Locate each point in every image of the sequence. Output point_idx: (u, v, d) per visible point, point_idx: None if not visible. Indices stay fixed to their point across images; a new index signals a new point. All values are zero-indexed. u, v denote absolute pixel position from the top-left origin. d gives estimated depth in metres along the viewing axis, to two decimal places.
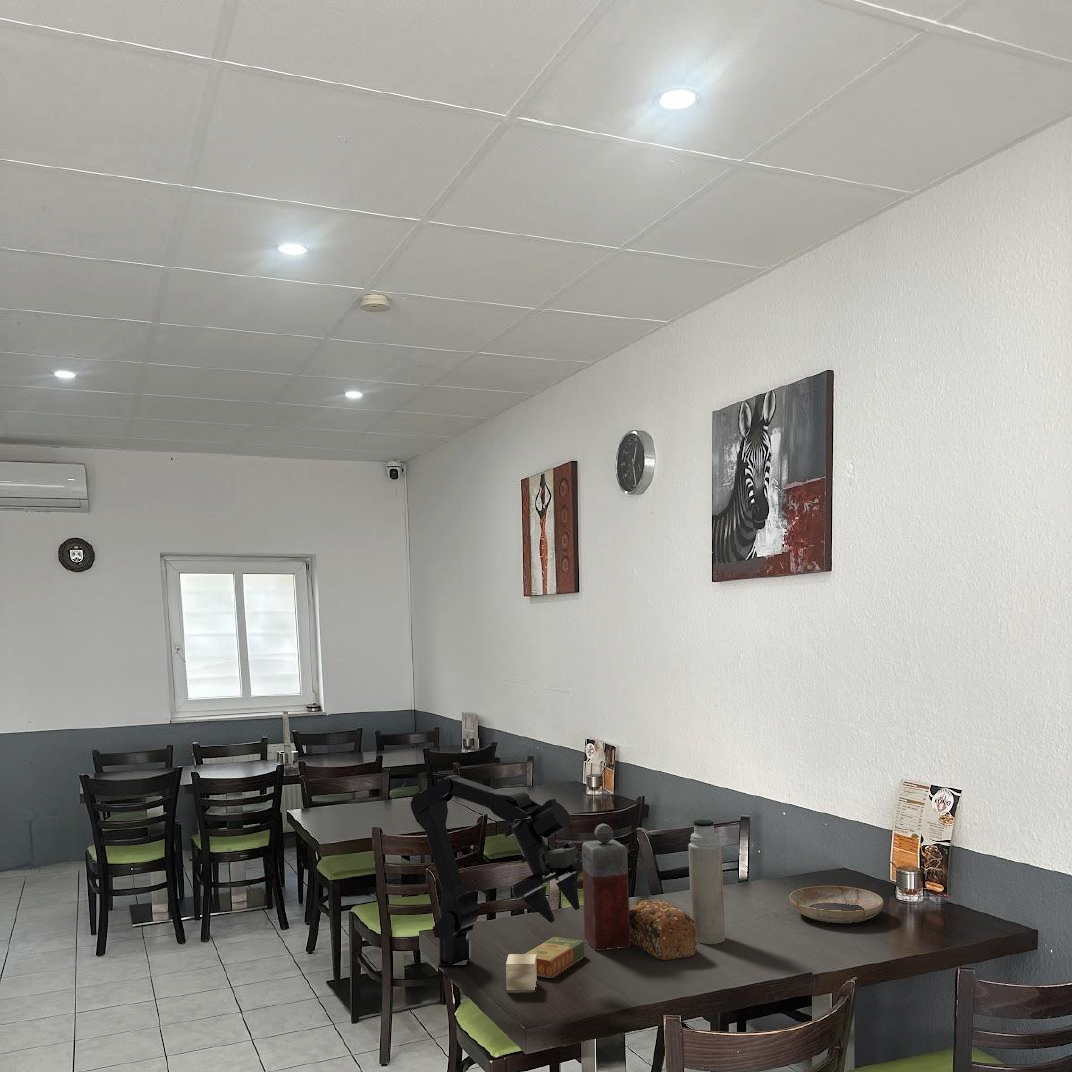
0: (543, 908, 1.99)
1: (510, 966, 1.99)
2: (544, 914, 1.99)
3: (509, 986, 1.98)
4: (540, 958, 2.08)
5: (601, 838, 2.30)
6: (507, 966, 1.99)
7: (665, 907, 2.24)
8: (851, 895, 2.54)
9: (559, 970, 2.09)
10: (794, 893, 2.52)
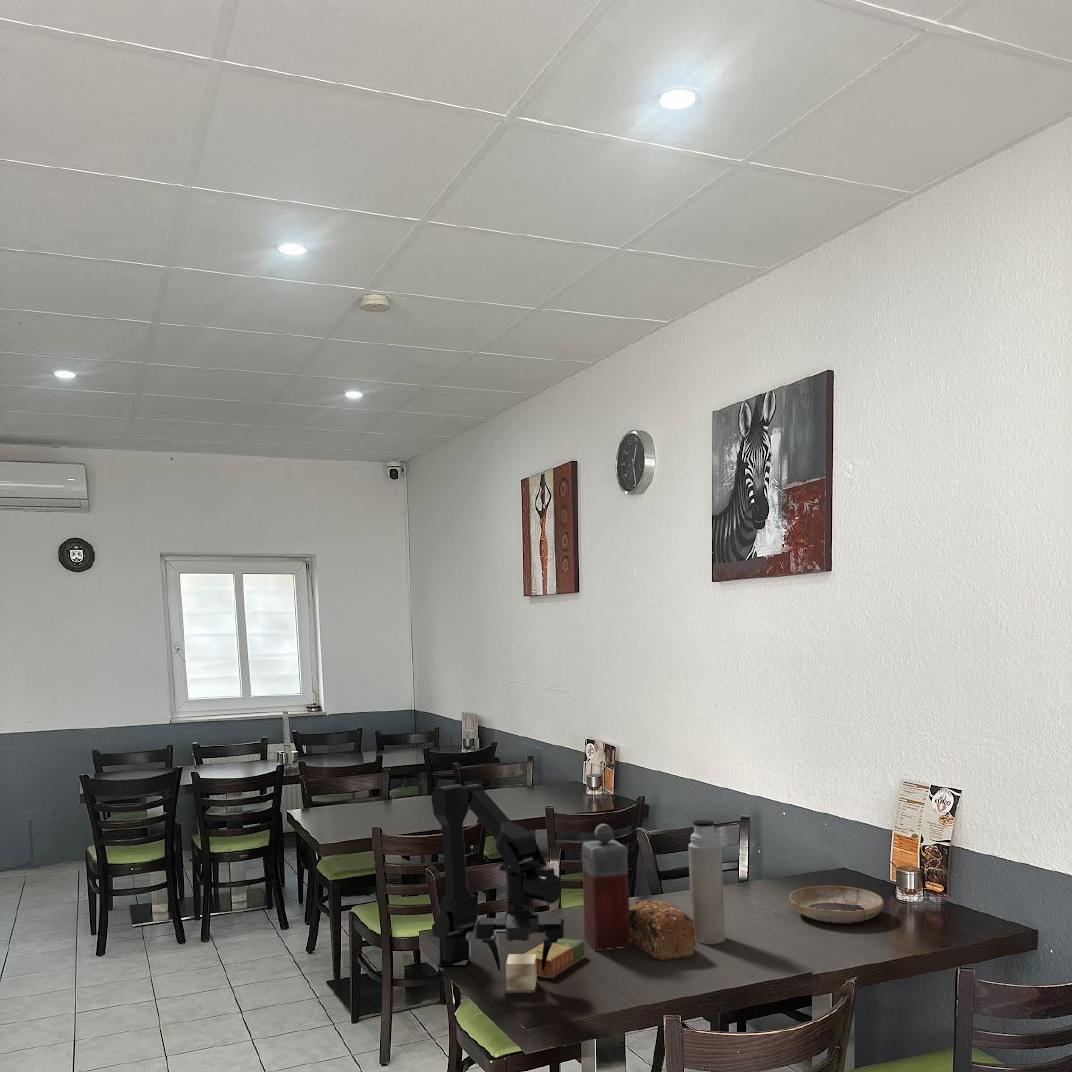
0: None
1: (510, 966, 1.99)
2: None
3: (509, 986, 1.98)
4: (539, 958, 2.08)
5: (601, 838, 2.30)
6: (507, 966, 1.99)
7: (664, 907, 2.24)
8: (851, 895, 2.54)
9: (559, 970, 2.09)
10: (794, 893, 2.52)
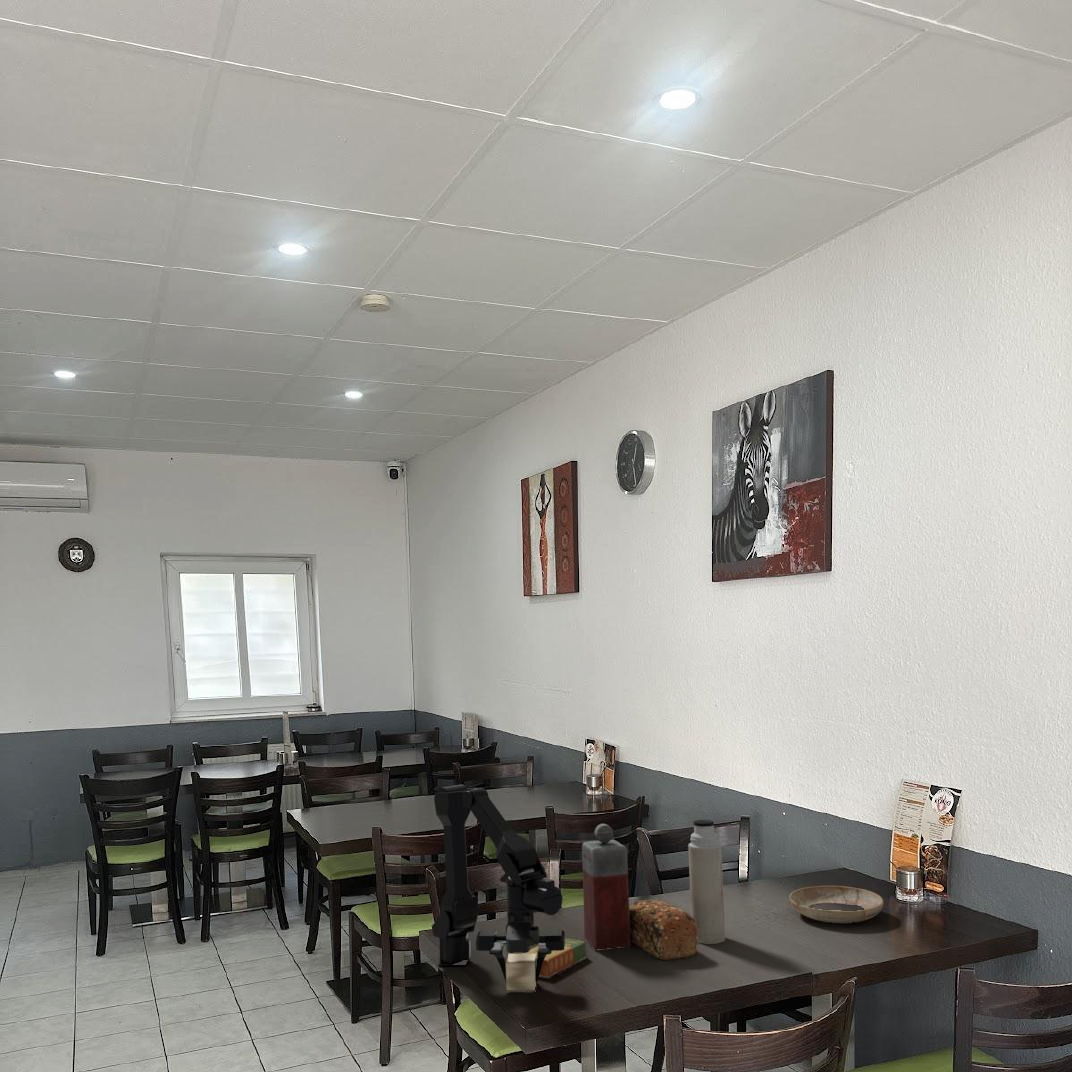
0: None
1: (510, 965, 1.99)
2: None
3: (509, 986, 1.98)
4: None
5: (601, 838, 2.30)
6: (507, 965, 1.99)
7: (665, 907, 2.24)
8: (851, 895, 2.54)
9: (557, 970, 2.09)
10: (794, 893, 2.52)
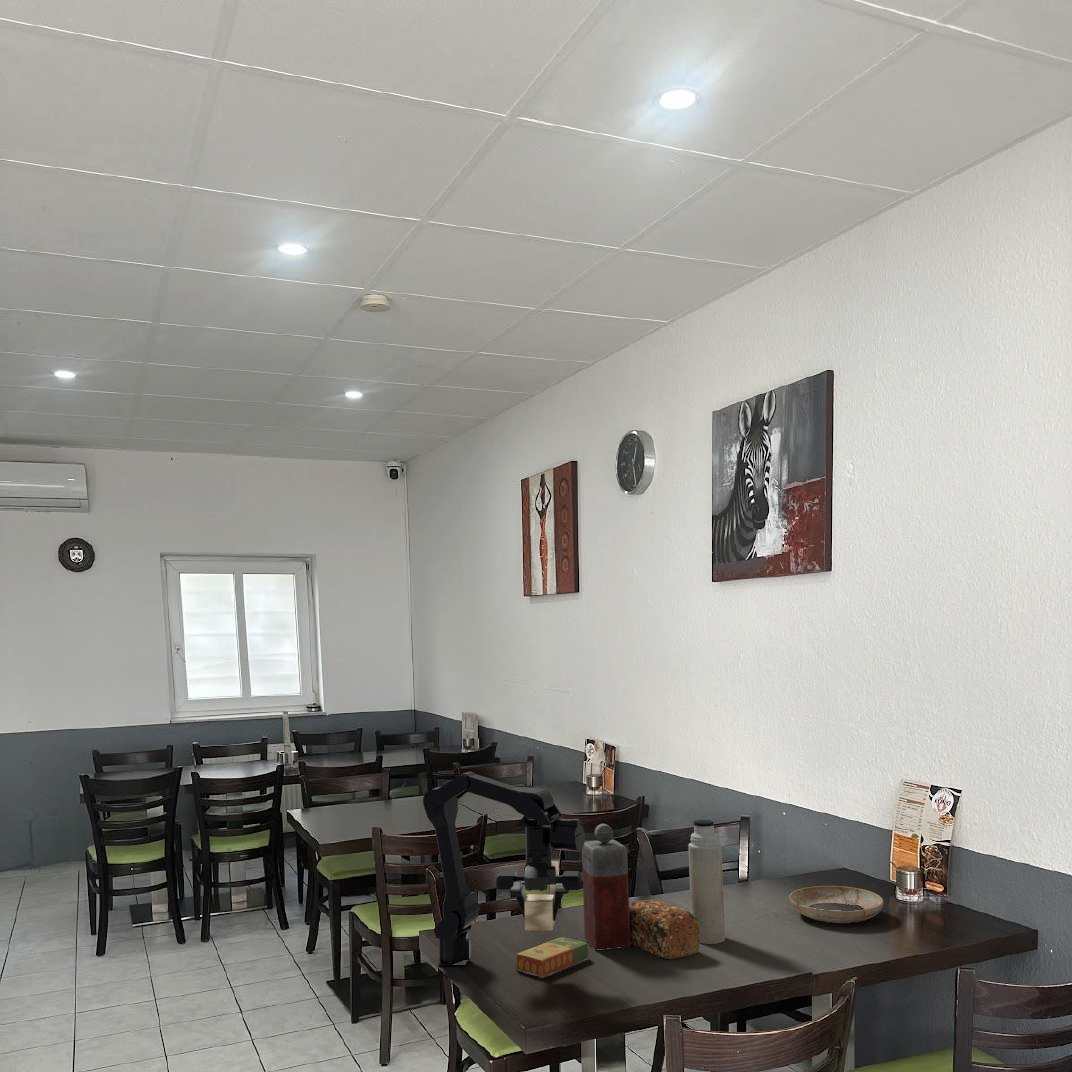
0: None
1: (529, 904, 2.08)
2: None
3: (528, 923, 2.07)
4: (533, 957, 2.08)
5: (601, 838, 2.30)
6: (526, 904, 2.08)
7: (665, 906, 2.25)
8: (851, 895, 2.54)
9: (554, 971, 2.09)
10: (794, 893, 2.52)
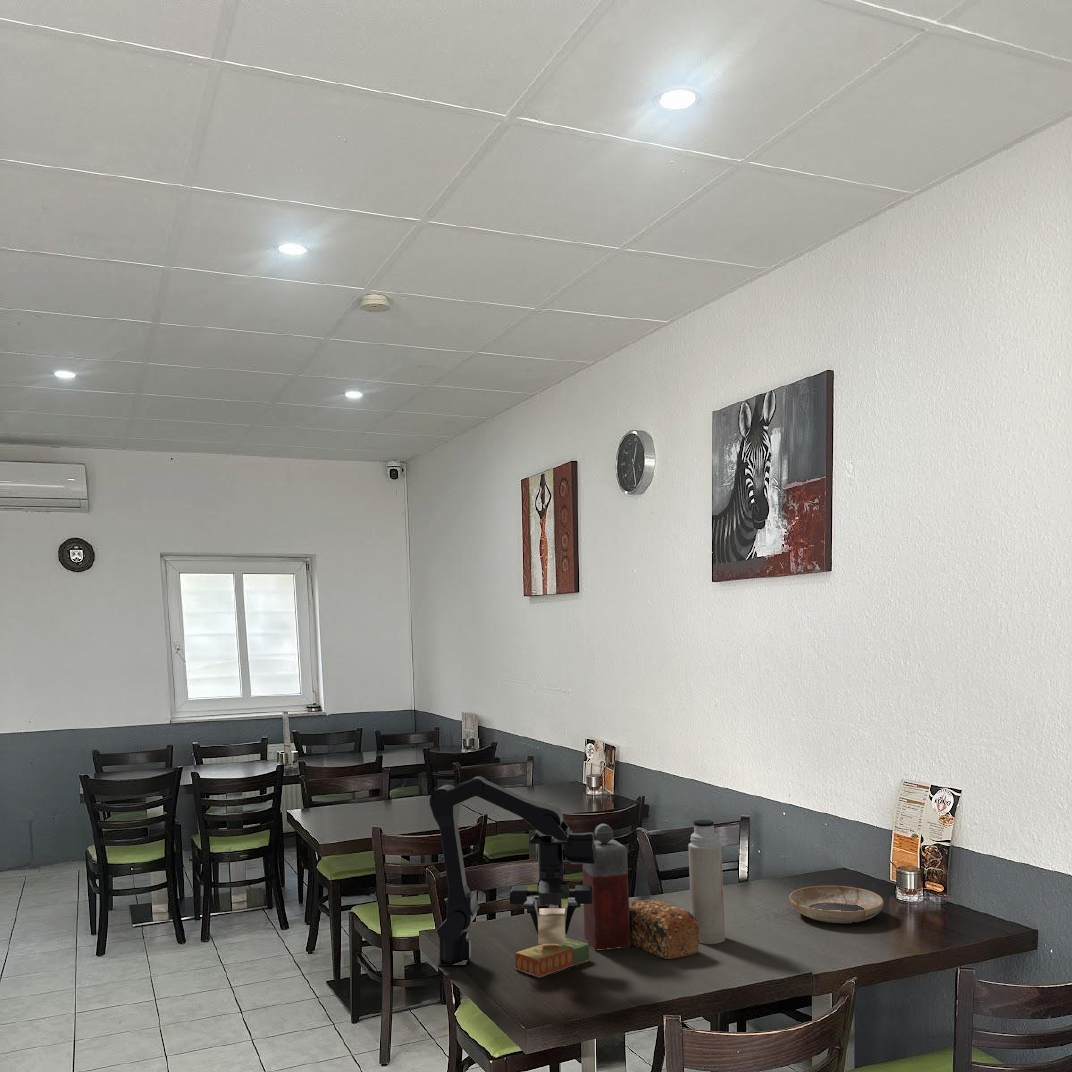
0: None
1: (542, 918, 2.13)
2: None
3: (541, 937, 2.12)
4: (530, 956, 2.09)
5: (601, 838, 2.30)
6: (539, 918, 2.13)
7: (665, 906, 2.25)
8: (851, 895, 2.54)
9: (551, 971, 2.09)
10: (794, 893, 2.52)
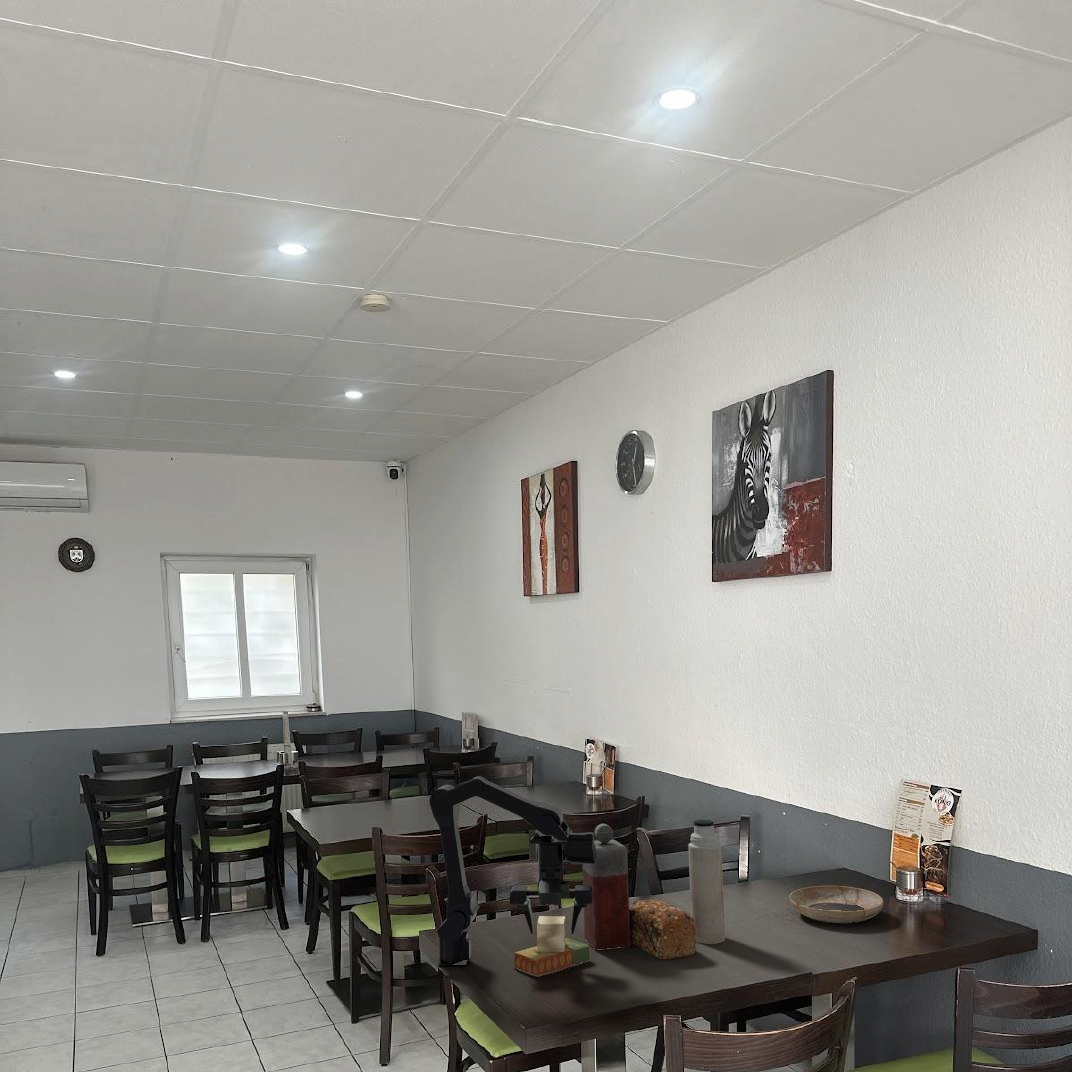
0: None
1: (541, 926, 2.12)
2: None
3: (540, 945, 2.12)
4: (529, 957, 2.09)
5: (601, 838, 2.30)
6: (538, 926, 2.13)
7: (664, 906, 2.25)
8: (851, 895, 2.54)
9: (549, 971, 2.09)
10: (794, 893, 2.52)
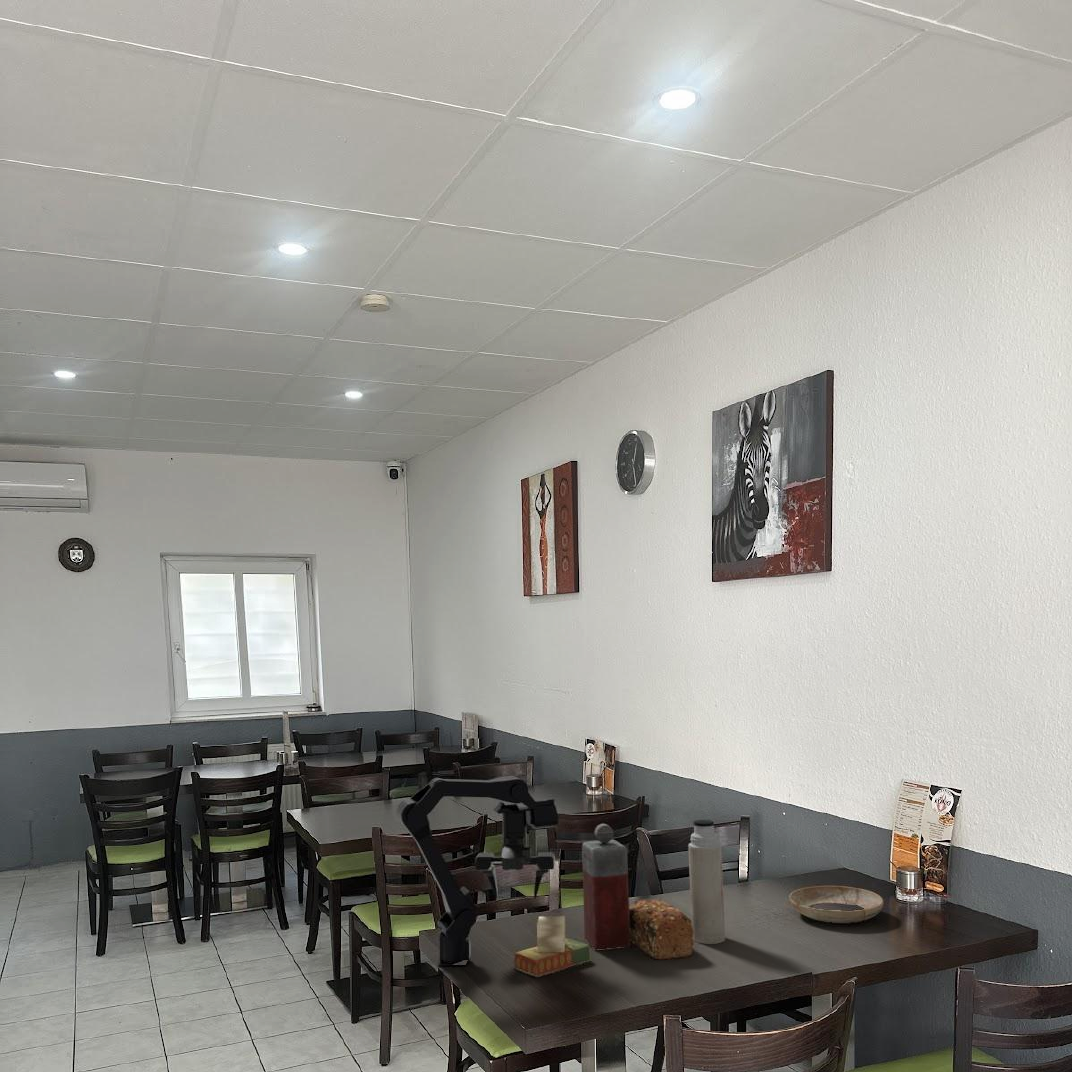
0: None
1: (541, 926, 2.12)
2: None
3: (540, 945, 2.12)
4: (529, 957, 2.09)
5: (601, 838, 2.30)
6: (538, 926, 2.12)
7: (663, 907, 2.25)
8: (851, 895, 2.54)
9: (550, 971, 2.09)
10: (794, 893, 2.52)
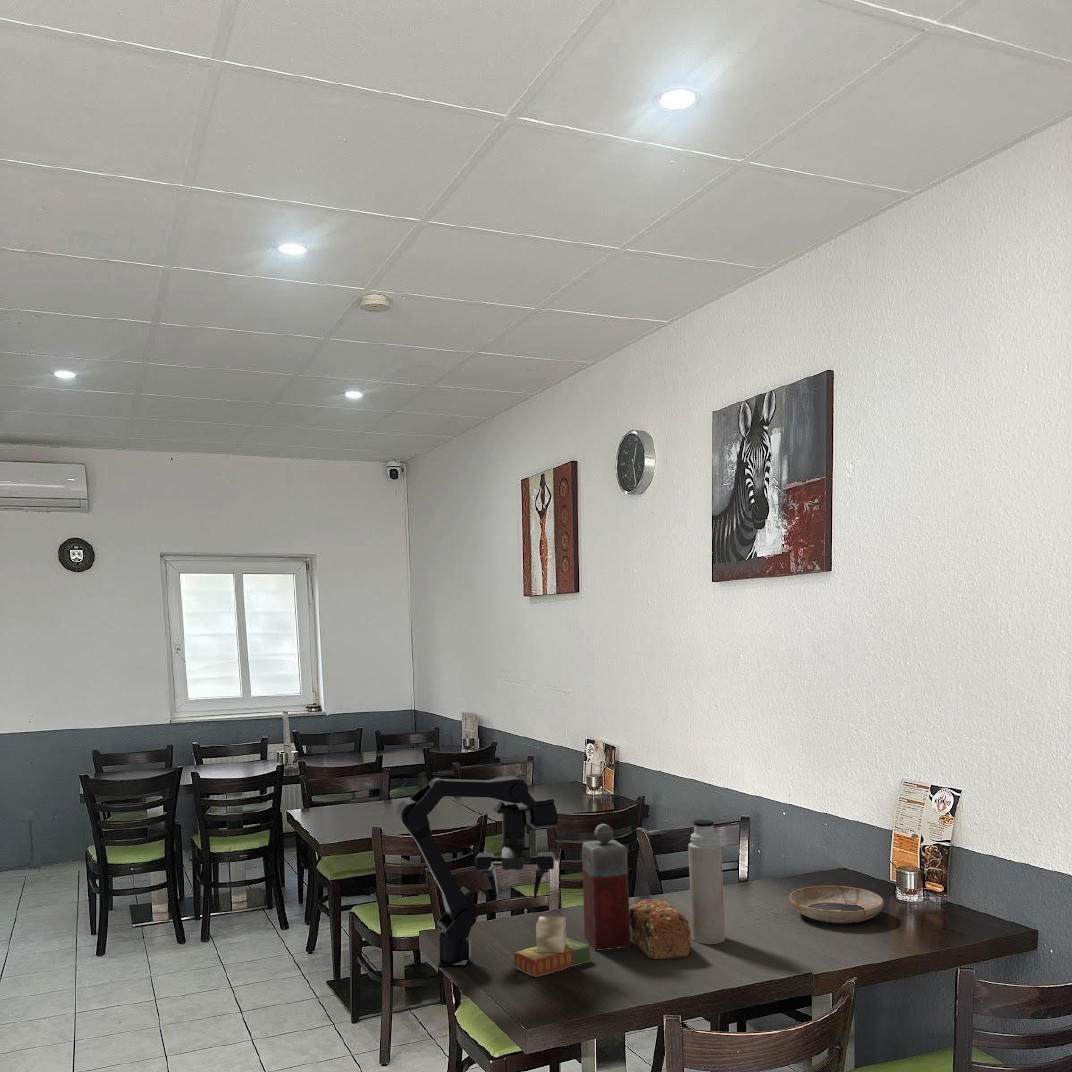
0: None
1: (540, 926, 2.12)
2: None
3: (539, 945, 2.12)
4: (528, 957, 2.09)
5: (601, 838, 2.30)
6: (537, 926, 2.12)
7: (661, 907, 2.25)
8: (851, 895, 2.54)
9: (549, 971, 2.09)
10: (794, 893, 2.52)
